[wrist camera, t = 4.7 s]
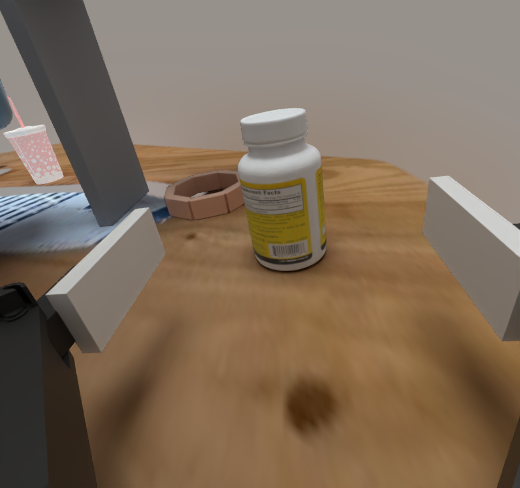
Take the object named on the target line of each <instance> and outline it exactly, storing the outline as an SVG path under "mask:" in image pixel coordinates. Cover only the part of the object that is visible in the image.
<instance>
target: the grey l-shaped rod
mask: <svg viewBox="0 0 520 488" xmlns="http://www.w3.org/2000/svg"><path fill="white" fill-rule="evenodd" d="M0 11H1V13H2V15H3V17H4V19H5V21H6V24H7V26H8V28H9V30H10V33H11V35H12V37H13V39H14V41H15V43H16V46H17V48H18V50H19V52H20V54H21V56H22V58H23V61H24V63H25V65H26V67H27V69H28V72H29V74H30V76H31V78H32V80H33V82H34V85H35V87H36V89H37V91H38V93H39V95H40V98H41V100H42V102H43V104H44V106H45V108H46V111H47V113H48V115H49V117H50V119H51V121H52V124H53V126H54V128H55V130H56V132H57V135H58V137H59V139H60V141H61V143H62V145H63V148H64V150H65V152H66V154H67V156H68V158H69V161H70V163H71V165H72V167H73V169H74V171H75V174H76V176H77V178H78V180H79V182H80V184H81V187H82V189H83V191H84V193H85V195H86V198H87V200H88V202H89V204H90V206H91V208H92V211H93V213H94V215H95V217H96V219H97V221H98V224H99V226H109V225H113V224H114V223H115V222H116V221H117V220H118V219H120V218H121V217H122V216H123V215H124V214H125V213H126V212H127V211H128V210H129V209H130V208H131V207H132V206H134V205H135V204H136V203H137V202H138V201H139V200H140V199H141V198H142V197H143V196H144V195H145V194H146V193H148V192H149V189H148V186H147V184H146V181H145V178H144V175H143V172H142V169H141V166H140V163H139V160H138V158H137V155H136V152H135V149H134V146H133V143H132V140H131V138H130V135H129V132H128V129H127V126H126V123H125V120H124V117H123V114H122V112H121V109H120V106H119V103H118V100H117V98H116V94H115V92H114V89H113V86H112V83H111V80H110V77H109V74H108V71H107V69H106V66H105V63H104V60H103V57H102V54H101V51H100V49H99V46H98V43H97V40H96V37H95V34H94V31H93V28H92V25H91V23H90V19H89V17H88V14H87V11H86V8H85V5H84V2H83V0H0Z"/></svg>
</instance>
